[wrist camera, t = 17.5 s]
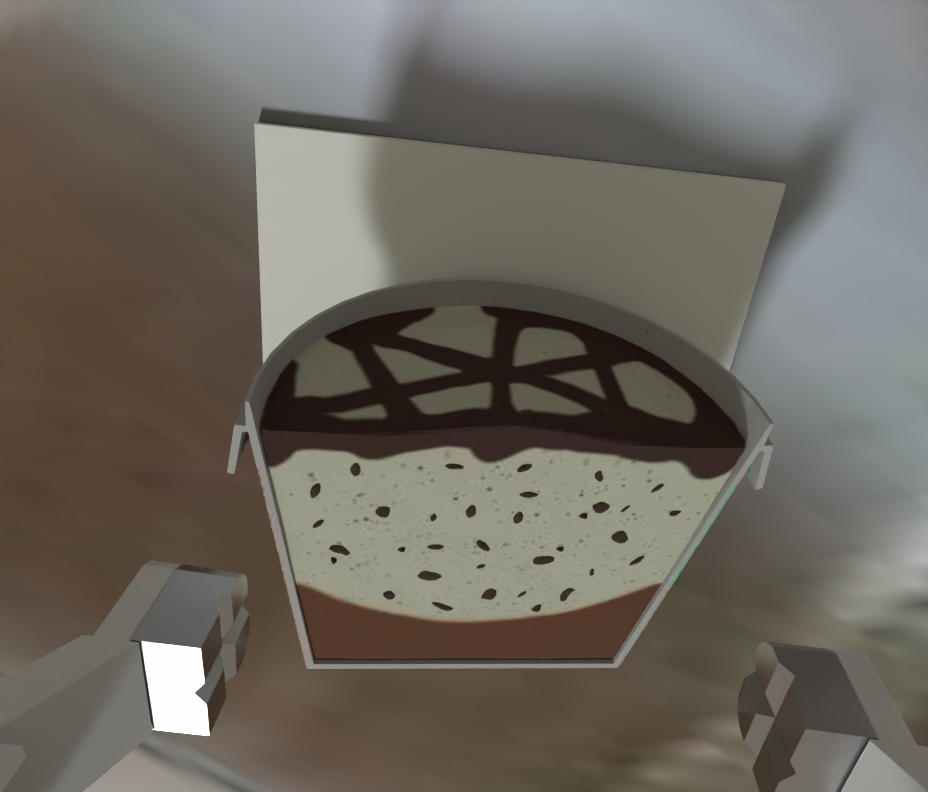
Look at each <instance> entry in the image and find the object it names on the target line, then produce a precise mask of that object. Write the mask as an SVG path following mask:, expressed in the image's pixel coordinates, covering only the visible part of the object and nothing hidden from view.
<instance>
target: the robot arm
mask: <svg viewBox="0 0 928 792" xmlns="http://www.w3.org/2000/svg"><path fill="white" fill-rule="evenodd" d="M247 594H248V586H247V577H246V576H245V575H244V574H242V573H235V572H229V571H222V570H216V569H209V568H203V567H197V566H190V565H184V564H182V565H179V564H173V563H166V562H160V561H154V560H151V561H149V562H148V563H146V564H145V565H143V566H142V567H141V569H140V570H139V572H138V573H137V574H136V576H135V577H134V579H133V580H132V581H131V583H130V584H129V586H128V587H127V588H126V590H125V591H124V593H123V594H122V596H121V597H120V598H119V600H118V601H117V603H116V604H115V605H114V607H113V608H112V610H111V611H110V612H109V614H108V615H107V617H106V618H105V619H104V621H103V622H102V624H101V625H100V626H99V628H98V629H97V631H96V632H95V634H94V635H93V636H87V635H82V636H80V637H79V638H77V639H75V640H73V641H71V642H69V643H68V644H66V645H64V646H62V647H60V648H58V649H57V650H55V651H53V652H51V653H49V654H48V655H46V656H44V657H42V658H40V659H38V660H37V661H35V662H33V663H31V664H29V665H27V666H26V667H24V668H22V669H20V670H18V671H16V672H15V673H13V674H11V675H9V676H7V677H6V678H4V679H2V680H0V792H83V791H84V790H85V789H86V788H88V787H89V786H90V785H91V784H93V783H94V782H95V781H96V780H97V779H99V778H100V777H101V776H102V775H103V774H104V773H106V772H107V771H108V770H109V769H110V768H111V767H113V766H114V765H115V764H116V763H118V762H119V761H120V760H121V759H122V758H124V757H125V756H126V755H127V754H128V753H130V752H131V751H132V750H133V749H134V748H136V747H137V746H138V745H139V744H140V743H142V742H143V741H144V740H145V739H146V738H147V737H149V736H150V735H151V734H152V730H160V731H169V732H179V733H188V734H198V735H207V736H209V735H210V733H211V731H212V728H213V726H214V724H215V722H216V720H217V717H218V715H219V713H220V711H221V708H222V706H223V704H224V702H225V700H226V689H225V682H226V681H227V680H229V679H230V678H232V677H233V676H235V675H236V674H237V672H238V670H239V668H240V665H241V663H242V660H243V658H244V654H245V650H246V646H247V642H248V637H249V627H250V621H249V613H248V612H247V610H246V609H245V608H244V607H243V606H242V604H243V602H244V600H245V598H246V596H247ZM753 661H754V664H755V667H756V669H757V671H756V672H754V673H753V674H751V675H750V676H748V677H746V678H745V679H744V681H743V684H742V687H741V690H740V693H739V700H738V718H739V726H740V730H741V733H742V736H743V740H744V742H745V743H746V744H747V745H748V746H749V747H750V748H751V749H752V750H753V751H754V752H755V753H756V754H757V755H758V757H757V759H756V761H755V764H754V766H753V768H752V769H753V772H754V775H755V779H756V782H757V785H758V788H759V791H760V792H928V747H924V746H918V745H917V744H916V742H915V740H914V738H913V736H912V735H911V733H910V731H909V729H908V727H907V726H906V724H905V722H904V720H903V718H902V717H901V715H900V713H899V711H898V709H897V708H896V706H895V704H894V702H893V700H892V699H891V697H890V695H889V693H888V691H887V690H886V688H885V686H884V684H883V682H882V681H881V679H880V677H879V675H878V673H877V672H876V670H875V668H874V666H873V664H872V663H871V661H870V659H869V658H868V657H866V656H865V655H864V654H863V653H858V652H850V651H841V650H833V649H828V650H827V649H823V648H815V647H806V646H798V645H790V644H782V643H773V642H765V641H764V642H763V643H762V644H760V645H759V646H758V648H757V650H756V652H755V654H754V657H753Z"/></svg>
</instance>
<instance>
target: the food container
mask: <svg viewBox="0 0 928 792" xmlns="http://www.w3.org/2000/svg"><path fill="white" fill-rule="evenodd" d="M773 425H774V423H773V422H772V421H771V419H770V418H769V416H768V415H767V414H766V412H765V411H764V409H763V408H762V407H761V405H760V404H759V402H758V401H757V400H756V399H755V398H754V396H753V395H752V394H751V393H750V392H749V391H748V390H747V389H746V388H745V387H744V386H743V385H742V384H741V383H740V382H739V381H738V380H737V378H736V377H735V376H734V375H732V374H731V373H730V372H729V371H728V370H726V369H725V368H724V367H723V366H722V365H720V364H719V363H718V362H717V361H716V360H714V359H713V358H712V357H711V356H710V355H708V354H707V353H705V352H704V351H702V350H701V349H699V348H698V347H697V346H695V345H694V344H692V343H691V342H689V341H688V340H686V339H685V338H683V337H682V336H680V335H678V334H676V333H674V332H673V331H671V330H669V329H667V328H665V327H664V326H662V325H660V324H658V323H656V322H654V321H653V320H650V319H648V318H646V317H644V316H641V315H639V314H637V313H635V312H632V311H630V310H628V309H626V308H623V307H621V306H618V305H615V304H612V303H609V302H606V301H604V300H601V299H598V298H595V297H592V296H589V295H585V294H581V293H577V292H573V291H570V290H566V289H562V288H558V287H553V286H547V285H542V284H536V283H531V282H524V281H515V280H505V279H496V278H447V279H430V280H423V281H417V282H410V283H403V284H398V285H394V286H390V287H386V288H382V289H378V290H374V291H370V292H367V293H364V294H361V295H359V296H356V297H353V298H351V299H348V300H345V301H342V302H340V303H338V304H336V305H334V306H332V307H331V308H329V309H327V310H325V311H323V312H321V313H319V314H317V315H315V316H314V317H312V318H311V319H309V320H308V321H307V322H305V323H304V324H302V325H301V326H300V327H298V328H297V329H295V330H294V331H293V332H291V333H290V334H289V335H288V336H287V337H286V338H285V339H284V340H283V341H282V342H281V343H280V344H279V345H278V346H277V347H276V348H275V349H274V350H273V351H272V352H271V353H270V355H269V356H268V358H267V359H266V361H265V362H264V364H263V365H262V367H261V368H260V370H259V371H258V373H257V374H256V376H255V377H254V380H253V382H252V385H251V387H250V390H249V392H248V395H247V396H246V398H245V400H244V402H243V405H242V407H241V410H240V412H239V415H238V417H237V420H236V422H235V424H234V430H233V437H232V443H231V450H230V456H229V463H228V469H227V473H233V474H234V473H235V471H236V468H237V465H238V463H239V460H240V457H241V455H242V452H243V449H244V447H245V445H246V443H247V442H248V440H249V438H250V442H251V446H252V450H253V454H254V458H255V462H256V466H257V470H258V474H259V478H260V482H261V486H262V490H263V495H264V499H265V503H266V507H267V511H268V515H269V519H270V523H271V527H272V531H273V535H274V539H275V543H276V547H277V551H278V555H279V560H280V564H281V568H282V572H283V576H284V580H285V584H286V588H287V592H288V596H289V600H290V604H291V608H292V612H293V616H294V620H295V624H296V629H297V633H298V637H299V641H300V645H301V649H302V653H303V657H304V661H305V665H306V669H383V668H619V666H620V664H621V663H622V661H623V660H624V658H625V657H626V655H627V654H628V652H629V651H630V649H631V648H632V646H633V645H634V643H635V641H636V640H637V638H638V637H639V635H640V634H641V632H642V631H643V629H644V628H645V626H646V625H647V623H648V622H649V620H650V618H651V617H652V615H653V614H654V612H655V611H656V609H657V608H658V606H659V605H660V603H661V602H662V600H663V599H664V597H665V595H666V594H667V592H668V591H669V589H670V588H671V586H672V585H673V583H674V582H675V580H676V579H677V577H678V576H679V574H680V572H681V571H682V569H683V568H684V566H685V565H686V563H687V562H688V560H689V559H690V557H691V556H692V554H693V553H694V551H695V550H696V548H697V546H698V545H699V543H700V542H701V540H702V539H703V537H704V536H705V534H706V533H707V531H708V530H709V528H710V527H711V525H712V523H713V522H714V520H715V519H716V517H717V516H718V514H719V513H720V511H721V510H722V508H723V507H724V505H725V504H726V502H727V500H728V499H729V497H730V496H731V494H732V493H733V491H734V490H735V488H736V487H737V485H738V484H739V482H740V481H741V479H742V477H743V476H744V474H746V475H747V477H748V479H749V480H750V482H751V483H752V485H753V486H754V488H755V490H756V489H762V488H763V484H764V480H765V477H766V473H767V469H768V465H769V461H770V458H771V454H772V450H773V444H772V443H771V441H770V440H769V438H768V436H769V434H770V432H771V429H772V427H773Z"/></svg>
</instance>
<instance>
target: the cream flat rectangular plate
mask: <svg viewBox="0 0 928 792" xmlns="http://www.w3.org/2000/svg"><path fill="white" fill-rule="evenodd" d="M255 152H256V179H257V207H258V234H259V262H260V289H261V317H262V344H263V364H264V362H265V361H266V359H267V358H268V356H269V355H270V353H271V352H272V351H273V350H274V349H275V348H276V347H277V346H278V345H279V344H280V343H281V342H282V341H283V340H284V339H285V338H286V337H287V336H288V335H289V334H290V333H291V332H293V331H294V330H295V329H297V328H298V327H300V326H301V325H302V324H304V323H305V322H307V321H308V320H309V319H311V318H312V317H314V316H315V315H317V314H319V313H321V312H323V311H325V310H327V309H329V308H331V307H332V306H334V305H336V304H338V303H340V302H342V301H345V300H348V299H351V298H353V297H356V296H359V295H361V294H364V293H367V292H370V291H374V290H378V289H382V288H386V287H390V286H394V285H398V284H403V283H410V282H417V281H423V280H430V279H447V278H496V279H505V280H515V281H524V282H531V283H536V284H542V285H547V286H553V287H558V288H562V289H566V290H570V291H573V292H577V293H581V294H585V295H589V296H592V297H595V298H598V299H601V300H604V301H606V302H609V303H612V304H615V305H618V306H621V307H623V308H626V309H628V310H630V311H632V312H635V313H637V314H639V315H641V316H644V317H646V318H648V319H650V320H653V321H654V322H656V323H658V324H660V325H662V326H664V327H665V328H667V329H669V330H671V331H673V332H674V333H676V334H678V335H680V336H682V337H683V338H685V339H686V340H688V341H689V342H691V343H692V344H694V345H695V346H697V347H698V348H699V349H701V350H702V351H704V352H705V353H707V354H708V355H710V356H711V357H712V358H713V359H714V360H716V361H717V362H718V363H719V364H720V365H722V366H723V367H724V368H725V369H726V370H728V371H729V370H730V367H731V364H732V361H733V357H734V354H735V351H736V348H737V344H738V341H739V338H740V335H741V331H742V328H743V325H744V322H745V318H746V315H747V312H748V309H749V305H750V302H751V299H752V295H753V292H754V289H755V286H756V282H757V279H758V276H759V273H760V269H761V266H762V263H763V260H764V256H765V253H766V250H767V247H768V243H769V240H770V237H771V234H772V230H773V227H774V224H775V221H776V217H777V214H778V211H779V208H780V204H781V201H782V198H783V195H784V191H785V188H786V184H784V183H783V182H774V181H765V180H757V179H748V178H739V177H730V176H722V175H713V174H704V173H696V172H687V171H678V170H670V169H661V168H652V167H643V166H635V165H626V164H617V163H609V162H600V161H591V160H583V159H574V158H565V157H557V156H548V155H539V154H530V153H522V152H513V151H504V150H496V149H487V148H478V147H470V146H461V145H452V144H443V143H435V142H426V141H417V140H409V139H400V138H391V137H383V136H374V135H365V134H357V133H348V132H339V131H330V130H322V129H313V128H304V127H296V126H287V125H278V124H270V123H261V122H257V123H255Z"/></svg>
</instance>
